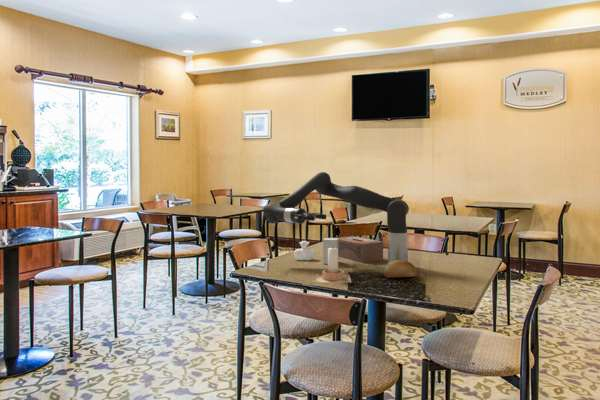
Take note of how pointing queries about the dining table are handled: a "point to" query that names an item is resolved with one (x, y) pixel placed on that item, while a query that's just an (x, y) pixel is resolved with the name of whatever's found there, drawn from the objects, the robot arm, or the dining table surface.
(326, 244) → the supplement box
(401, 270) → the bread roll
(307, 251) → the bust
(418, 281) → the dining table surface
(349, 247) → the tissue box cover
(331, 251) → the cream candle
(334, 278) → the terracotta dish
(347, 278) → the birch board
